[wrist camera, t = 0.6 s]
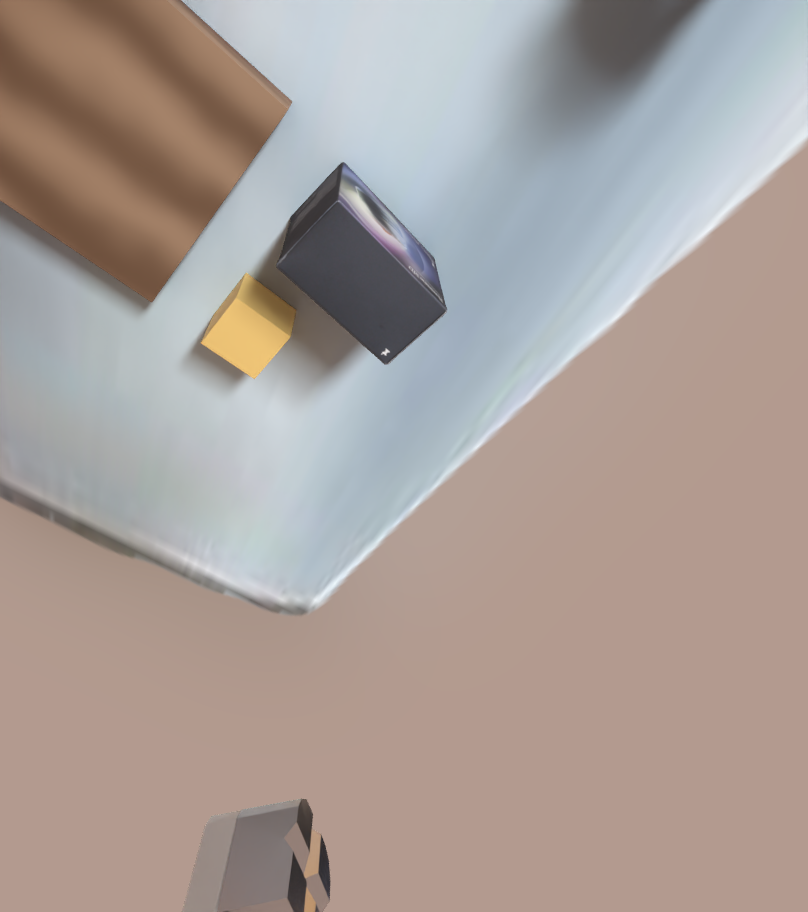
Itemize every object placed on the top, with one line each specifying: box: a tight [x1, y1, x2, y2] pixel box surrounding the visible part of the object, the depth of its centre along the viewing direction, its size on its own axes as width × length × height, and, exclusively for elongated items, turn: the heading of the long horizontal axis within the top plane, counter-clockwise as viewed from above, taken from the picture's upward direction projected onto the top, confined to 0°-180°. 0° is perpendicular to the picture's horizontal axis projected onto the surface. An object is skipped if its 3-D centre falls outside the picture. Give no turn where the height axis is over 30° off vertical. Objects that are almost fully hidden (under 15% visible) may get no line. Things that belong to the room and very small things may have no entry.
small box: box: [276, 163, 447, 365], centre depth 48 cm, size 11×6×10 cm, turn 44°
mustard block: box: [201, 273, 296, 379], centre depth 53 cm, size 5×5×5 cm
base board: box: [0, 0, 292, 302], centre depth 45 cm, size 18×18×3 cm
